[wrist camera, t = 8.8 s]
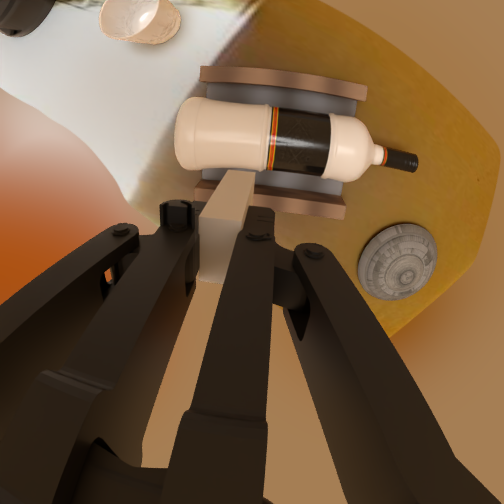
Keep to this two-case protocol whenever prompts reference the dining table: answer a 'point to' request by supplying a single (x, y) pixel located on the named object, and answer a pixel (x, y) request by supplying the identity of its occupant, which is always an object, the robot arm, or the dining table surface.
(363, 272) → the flying saucer
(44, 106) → the dining table surface
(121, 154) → the dining table surface
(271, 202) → the u rest
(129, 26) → the white cup
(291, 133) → the vodka
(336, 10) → the dining table surface
